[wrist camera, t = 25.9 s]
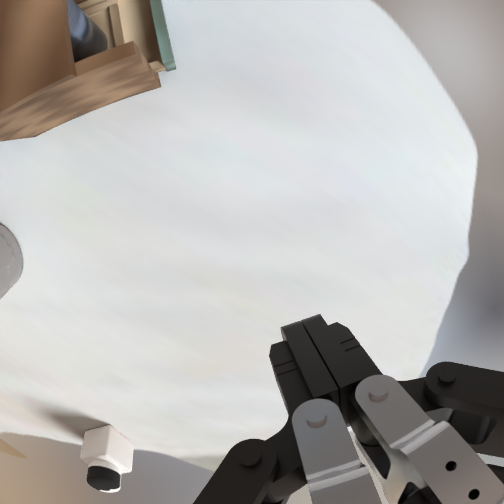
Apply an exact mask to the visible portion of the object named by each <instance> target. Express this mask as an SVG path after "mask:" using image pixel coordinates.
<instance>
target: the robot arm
mask: <svg viewBox="0 0 504 504" xmlns="http://www.w3.org/2000/svg"><path fill="white" fill-rule="evenodd" d="M22 269H23V258H22V253H21V249H20V246H19V244H18V242H17V240H16V239H15V237H14V235H13V234H12V233H11V232H10V231H9V230H8V229H7V228H6V227H4V226H3V225H0V299H1V298H2V297H3V296H4V295H5V294H6V293H7V292H8V291H9V289H10V288H11V287H12V286H13V285H14V284H15V283H16V282H17V281H18V279H19V278H20V276H21V274H22ZM281 333H282V337H283V341H282V342H279V343H276V344H272V345H271V349H270V354H269V357H270V361H271V364H272V368H273V371H274V374H275V378H276V381H277V384H278V387H279V390H280V393H281V395H282V398H283V401H284V404H285V406H286V409H287V412H288V415H289V417H288V420H287V423H286V424H285V426H284V427H283V428H282V429H281V430H280V431H279V432H278V433H277V434H275V435H274V436H272V437H270V438H269V439H267V440H266V441H264V440H260V439H248V440H244V441H241V442H239V443H237V444H236V445H235V446H233V447H232V448H231V449H230V451H229V452H228V454H227V455H226V457H225V458H224V460H223V461H222V463H221V464H220V466H219V467H218V469H217V470H216V472H215V473H214V474H213V476H212V477H211V479H210V480H209V482H208V483H207V485H206V486H205V487H204V489H203V490H202V492H201V493H200V495H199V496H198V497H197V499H196V500H195V502H194V503H193V504H286V503H287V501H288V499H289V497H290V495H291V494H292V493H294V492H295V491H297V490H298V489H300V488H301V487H303V486H304V485H305V484H308V488H309V492H310V496H311V499H312V503H313V504H382V503H381V500H380V497H379V495H378V492H377V490H376V487H375V485H374V482H373V480H372V477H371V475H370V473H369V470H368V469H367V467H366V466H365V465H364V464H362V463H361V461H360V459H359V456H358V454H357V451H356V449H355V447H354V444H353V442H352V439H351V436H350V434H349V431H348V429H347V427H349V426H351V427H352V429H353V431H354V433H355V442H356V445H357V446H358V448H359V449H360V451H361V453H362V454H363V456H364V457H365V459H366V460H367V462H368V463H369V465H370V467H371V468H372V470H373V471H374V472H375V474H376V476H377V477H378V479H379V481H380V482H381V484H382V487H383V491H384V494H385V497H386V499H387V501H388V502H389V504H504V467H501V466H497V465H491V464H485V463H484V461H483V460H482V459H481V458H480V457H479V456H478V455H477V453H480V454H486V455H491V456H497V457H502V458H504V372H500V371H495V370H489V369H484V368H478V367H473V366H468V365H463V364H459V363H454V362H441V363H437V364H435V365H434V366H432V367H431V368H430V369H429V370H428V372H427V374H426V377H423V378H418V379H413V380H408V381H396V380H395V379H394V378H392V377H390V376H387V375H383V374H382V373H381V372H380V370H379V369H378V368H377V366H376V365H375V363H374V362H373V361H372V359H371V358H370V357H369V355H368V354H367V353H366V351H365V350H364V349H363V347H362V346H361V345H360V343H359V342H358V341H357V339H355V337H354V335H353V334H352V333H351V331H350V330H349V329H348V328H347V327H345V326H343V325H341V324H340V323H338V322H336V323H333V324H331V325H327V323H326V322H325V320H324V319H323V318H322V316H321V315H320V314H318V315H315V316H312V317H310V318H307V319H304V320H301V322H300V321H298V322H295V323H292V324H289V325H286V326H283V327H281Z"/></svg>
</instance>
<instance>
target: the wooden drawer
mask: <svg viewBox="0 0 504 504" xmlns="http://www.w3.org/2000/svg"><path fill="white" fill-rule="evenodd" d="M78 6H79V7H80V8H81V9H82V10H83V11H84V12H85V13H86V14H87V15H88V16H89V17H90V18H91V19H92V20H93V21H94V22H95V23H96V24H97V25H98V26H99V28H100V29H101V30H102V31H103V32H104V33H105V34H106V36H107V40H108V47H107V50H108V49H111V48H114V47H116V46H119V45H122V44H125V43H128V42H131V41H134V43H135V44H136V46H137V47H138V48H139V50H140V51H141V53H142V54H143V56H144V57H145V59H146V60H147V61H148V63H149V64H150V66H151V67H152V69H153V70H154V72H155V73H157V72H160V71H164V70H167V71H171V70H175V69H176V66H175V61H174V57H173V53H172V48H171V44H170V39H169V35H168V30H167V25H166V21H165V16H164V11H163V6H162V2H161V0H87V1H85V2H82V3H80V4H78ZM165 68H166V69H165Z"/></svg>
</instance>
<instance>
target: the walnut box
mask: <svg viewBox="0 0 504 504" xmlns="http://www.w3.org/2000/svg"><path fill="white" fill-rule="evenodd" d="M73 1H74V2H75V3H76V4H77V5H78V4H80V3H82V2H85V1H87V0H73ZM159 87H161V84H160V79H159V75H158V72H157V73H155V72H154V70H153V69H152V67H151V66H150V64H149V63H148V61H147V60H146V59H145V57H144V56H143V54H142V53H141V51H140V50H139V48H138V47H137V46H136V44H135V43H134V41H131V42H128V43H125V44H122V45H119V46H116V47H114V48H111V49H108V50H106V51H103V52H100V53H98V54H95V55H93V56H90V57H88V58H86V59H83V60H81V61H79V62H76V63H74V57H73V51H72V44H71V37H70V29H69V20H68V11H67V0H0V141H7V140H14V139H22V138H30V137H36V136H38V135H40V134H42V133H44V132H46V131H48V130H50V129H52V128H54V127H56V126H59V125H61V124H63V123H65V122H67V121H70V120H72V119H74V118H76V117H79V116H81V115H83V114H86V113H88V112H91V111H93V110H96V109H98V108H101V107H103V106H106V105H109V104H111V103H114V102H117V101H120V100H122V99H125V98H128V97H131V96H134V95H137V94H140V93H143V92H146V91H150V90H153V89H156V88H159Z"/></svg>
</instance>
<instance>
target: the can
mask: <svg viewBox="0 0 504 504" xmlns="http://www.w3.org/2000/svg"><path fill="white" fill-rule="evenodd" d="M67 11H68V20H69V29H70V37H71V44H72V51H73V57H74V63H76V62H79V61H81V60H83V59H86V58H88V57H90V56H93V55H95V54H98V53H100V52H103V51H106V50H107V47H108V40H107V36H106V34H105V33H104V32H103V31H102V30H101V29H100V28H99V26H98V25H97V24H96V23H95V22H94V21H93V20H92V19H91V18H90V17H89V16H88V15H87V14H86V13H85V12H84V11H83V10H82V9H81V8H80V7H79V6H78V5H77V4H76V3H75V2H74V1H73V0H67Z"/></svg>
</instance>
